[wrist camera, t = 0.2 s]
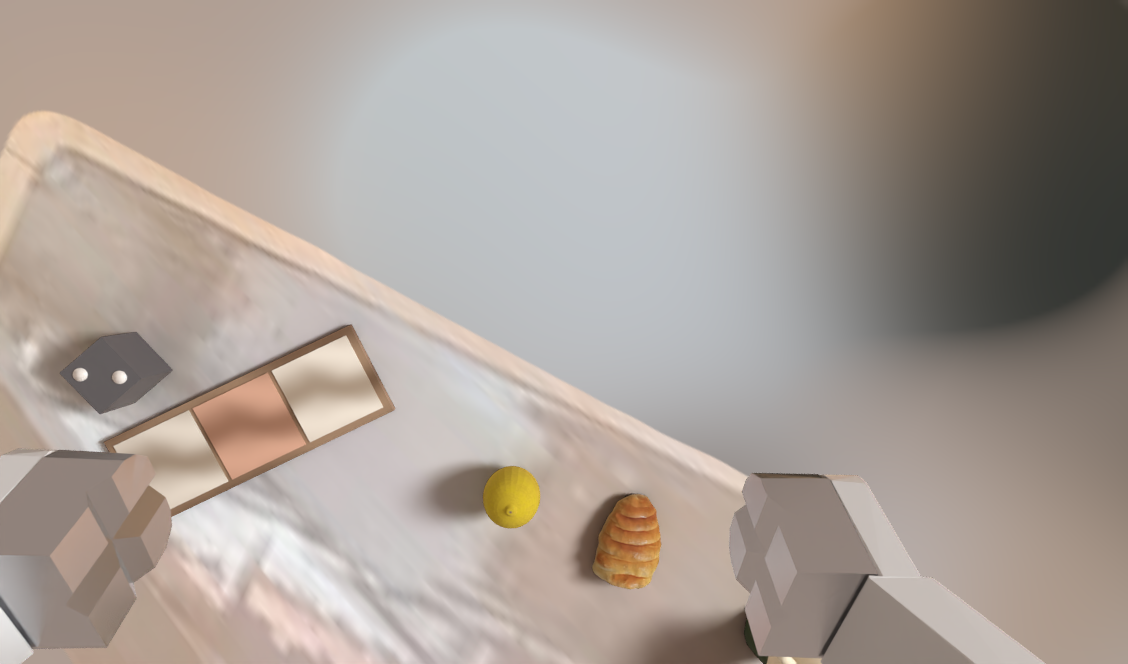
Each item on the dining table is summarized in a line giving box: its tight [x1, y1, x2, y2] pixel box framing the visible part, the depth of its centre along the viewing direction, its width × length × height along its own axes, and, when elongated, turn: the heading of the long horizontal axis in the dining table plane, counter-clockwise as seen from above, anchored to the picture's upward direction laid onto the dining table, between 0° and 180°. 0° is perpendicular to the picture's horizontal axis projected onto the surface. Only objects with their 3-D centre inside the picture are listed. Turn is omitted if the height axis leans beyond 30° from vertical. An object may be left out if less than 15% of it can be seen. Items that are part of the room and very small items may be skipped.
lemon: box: [483, 466, 540, 528], centre depth 60 cm, size 6×6×8 cm
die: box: [60, 332, 172, 414], centre depth 58 cm, size 5×5×5 cm
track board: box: [104, 325, 395, 517], centre depth 61 cm, size 10×26×1 cm, turn 115°
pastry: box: [592, 494, 661, 589], centre depth 64 cm, size 9×7×4 cm
